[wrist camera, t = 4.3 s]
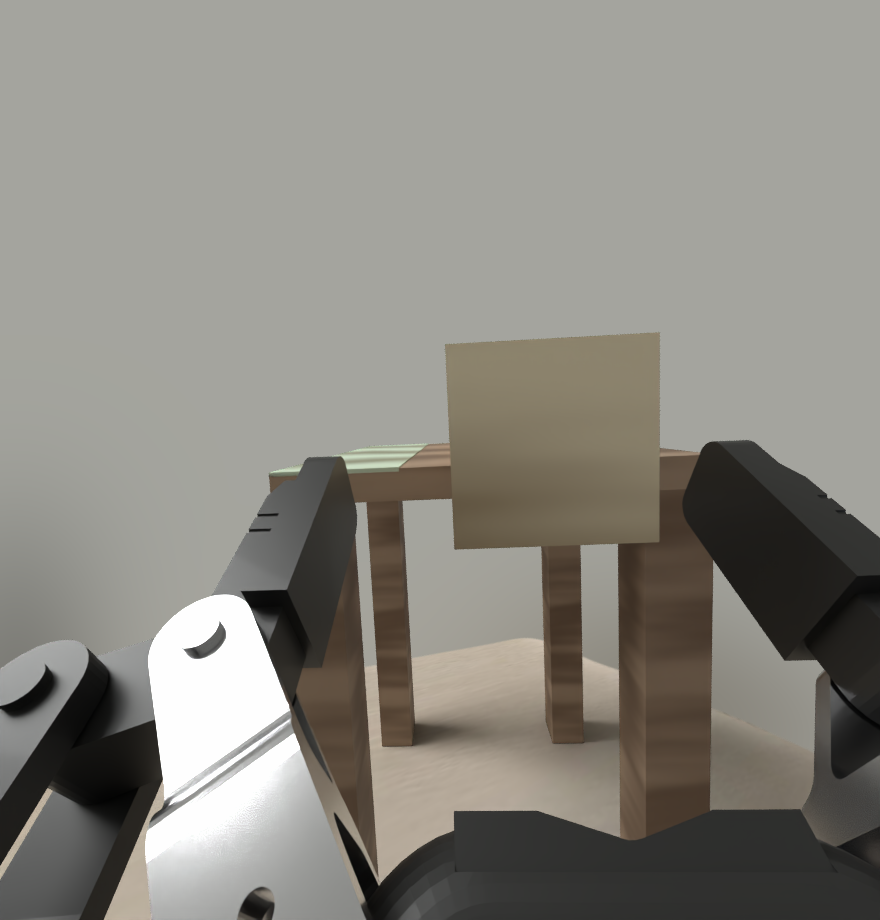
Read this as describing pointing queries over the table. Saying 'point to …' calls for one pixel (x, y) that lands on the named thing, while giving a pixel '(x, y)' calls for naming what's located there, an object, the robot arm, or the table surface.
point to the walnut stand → (640, 645)
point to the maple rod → (555, 441)
